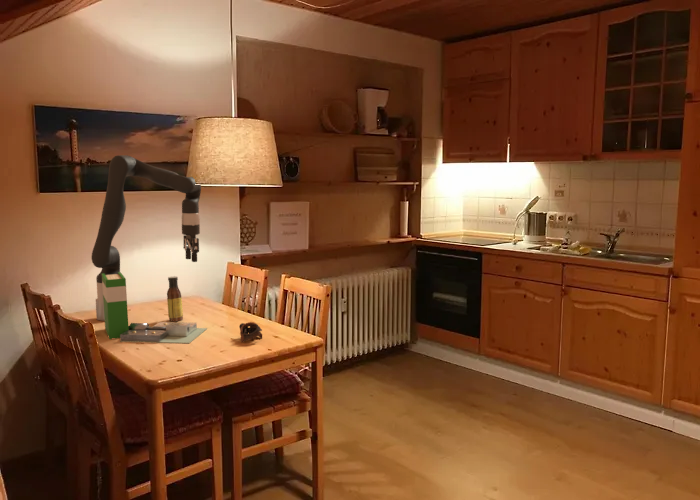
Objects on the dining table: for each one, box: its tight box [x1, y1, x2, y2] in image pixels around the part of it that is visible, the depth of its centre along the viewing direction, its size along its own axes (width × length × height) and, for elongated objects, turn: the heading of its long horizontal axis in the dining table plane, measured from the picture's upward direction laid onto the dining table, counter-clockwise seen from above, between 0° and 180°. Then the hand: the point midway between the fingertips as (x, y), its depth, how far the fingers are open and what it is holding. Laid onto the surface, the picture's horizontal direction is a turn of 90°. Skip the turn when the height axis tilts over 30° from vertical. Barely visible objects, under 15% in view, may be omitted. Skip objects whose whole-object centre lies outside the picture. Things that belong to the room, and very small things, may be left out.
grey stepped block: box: [119, 322, 167, 342], centre depth 240 cm, size 18×12×5 cm
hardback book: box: [102, 271, 129, 340], centre depth 245 cm, size 18×7×24 cm, turn 27°
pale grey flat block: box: [152, 321, 198, 336], centre depth 247 cm, size 16×12×4 cm
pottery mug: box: [239, 321, 263, 343], centre depth 237 cm, size 12×10×8 cm
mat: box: [119, 327, 208, 344], centre depth 244 cm, size 28×22×1 cm
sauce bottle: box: [166, 275, 184, 322], centre depth 267 cm, size 7×6×20 cm
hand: (191, 260), depth 259 cm, fingers open, 8 cm apart
